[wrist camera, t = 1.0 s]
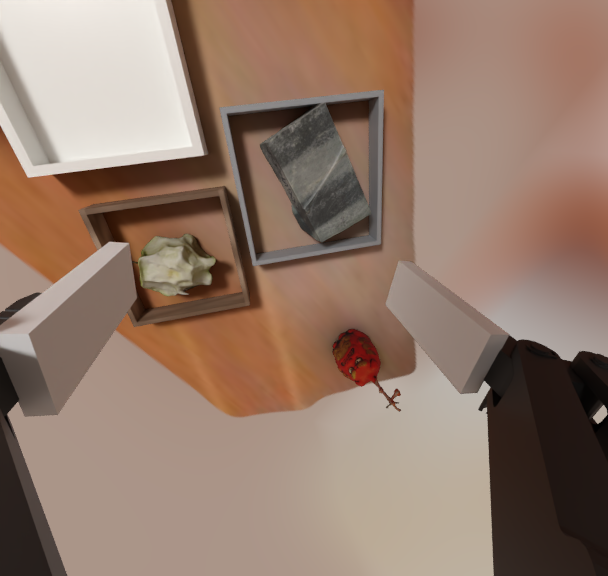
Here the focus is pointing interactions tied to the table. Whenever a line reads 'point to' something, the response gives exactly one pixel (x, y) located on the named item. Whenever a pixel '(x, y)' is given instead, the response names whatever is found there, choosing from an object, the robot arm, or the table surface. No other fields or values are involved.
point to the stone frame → (374, 173)
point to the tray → (95, 85)
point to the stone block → (316, 174)
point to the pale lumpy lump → (174, 265)
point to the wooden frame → (165, 313)
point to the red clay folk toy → (359, 360)
